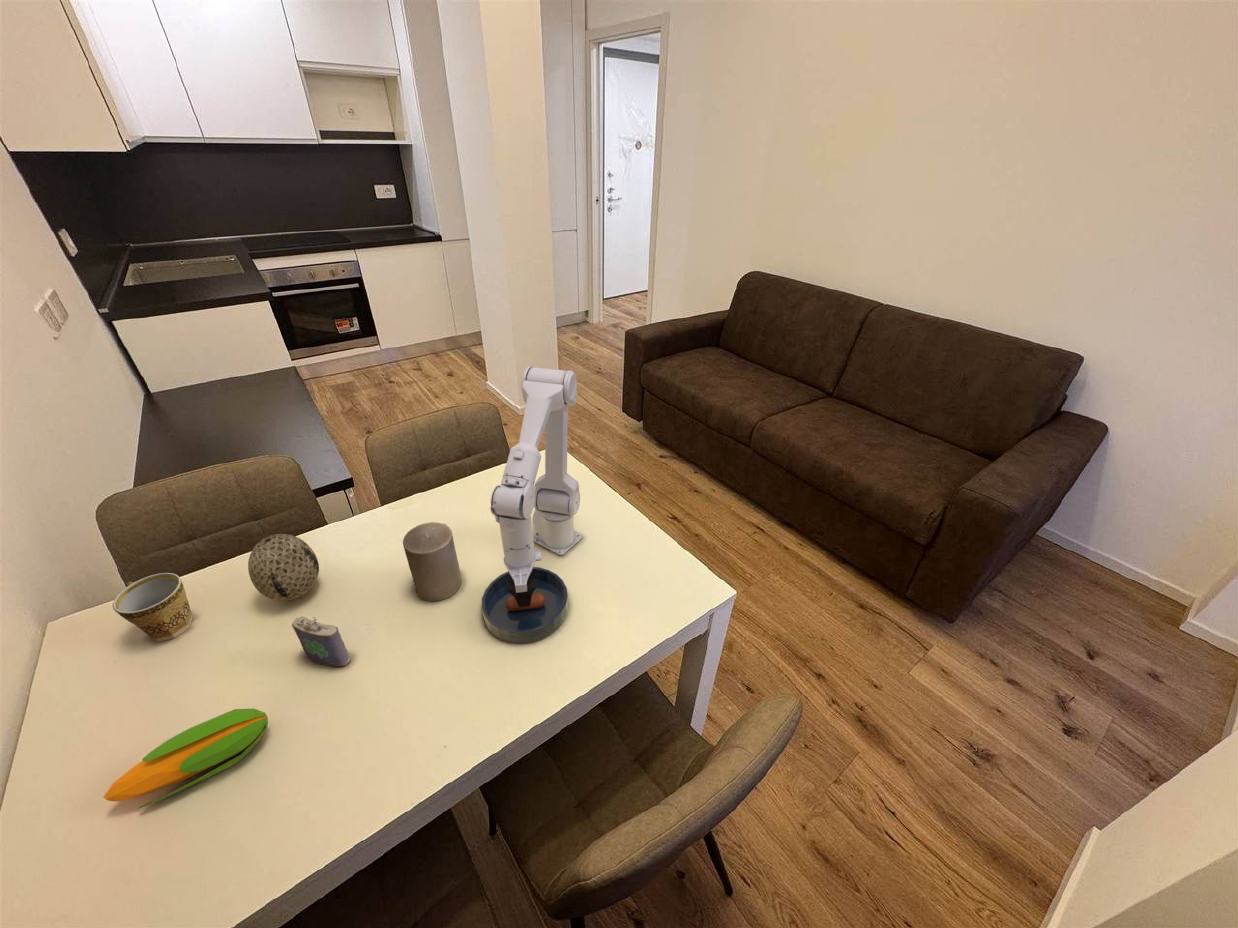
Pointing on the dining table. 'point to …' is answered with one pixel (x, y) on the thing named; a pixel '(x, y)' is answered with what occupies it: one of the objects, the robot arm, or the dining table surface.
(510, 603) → the sausage
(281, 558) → the decorative egg
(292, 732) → the dining table surface
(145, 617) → the ceramic cup
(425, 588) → the pillar candle
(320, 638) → the flask
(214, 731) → the corn
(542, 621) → the bowl
